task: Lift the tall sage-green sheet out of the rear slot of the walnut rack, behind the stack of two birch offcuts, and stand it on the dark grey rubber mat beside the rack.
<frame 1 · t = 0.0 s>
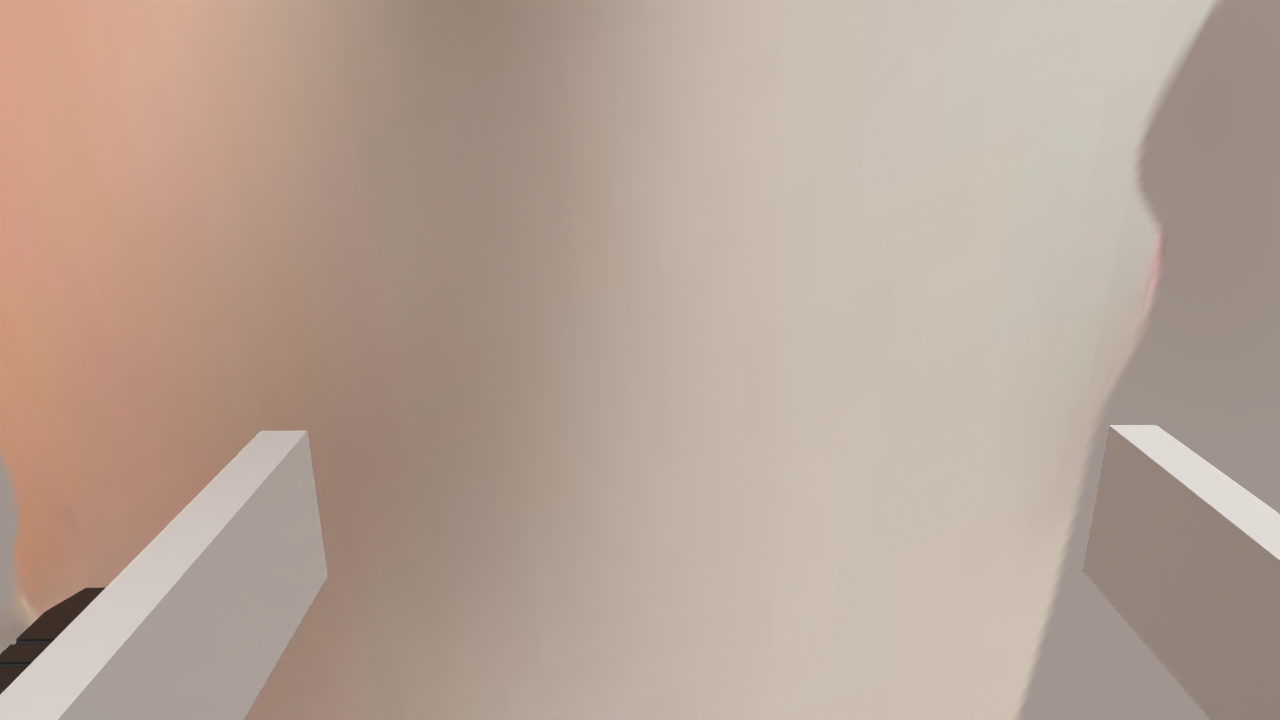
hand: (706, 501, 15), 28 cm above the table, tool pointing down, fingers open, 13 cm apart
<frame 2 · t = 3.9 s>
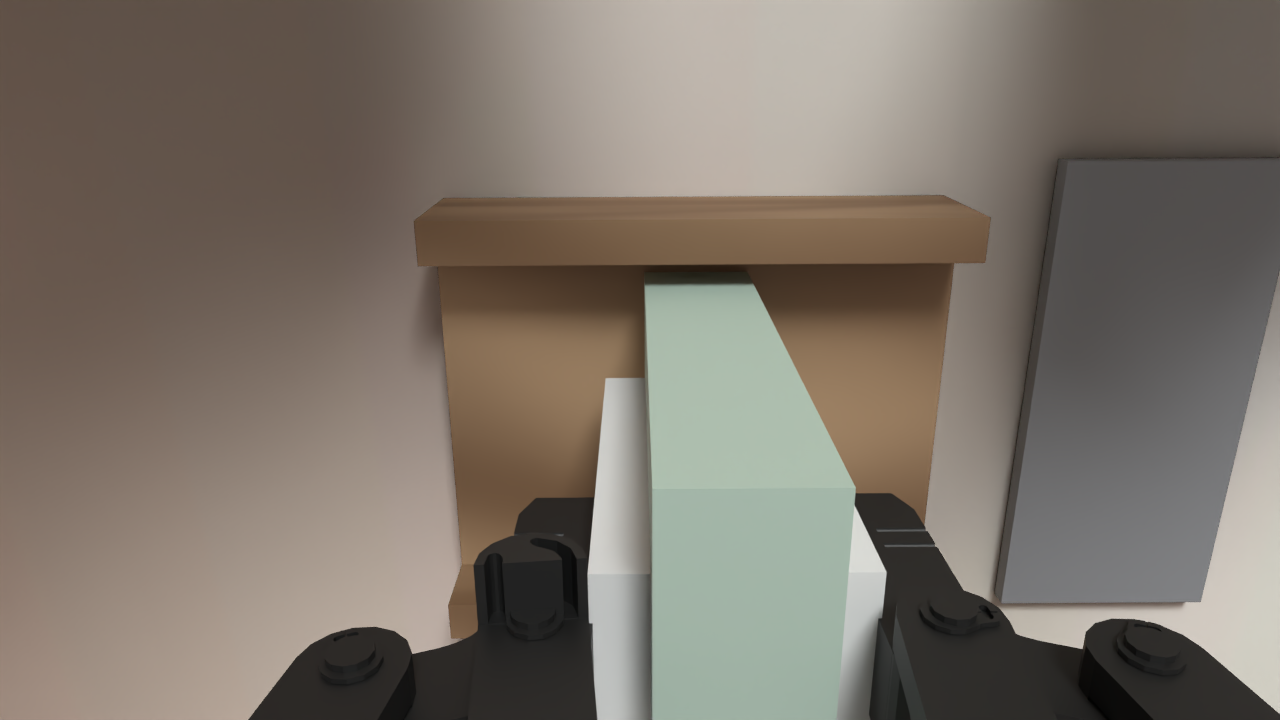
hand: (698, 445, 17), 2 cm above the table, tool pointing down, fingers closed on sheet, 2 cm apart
rack: (689, 488, 20), on the table
mat: (1130, 394, 19), on the table
sheet: (693, 414, 18), point 1 cm above the table, touching gripper, rack
when the fingers open (3 cm above the table, at t = 8.5 s): sheet stays where it is, resting on mat.
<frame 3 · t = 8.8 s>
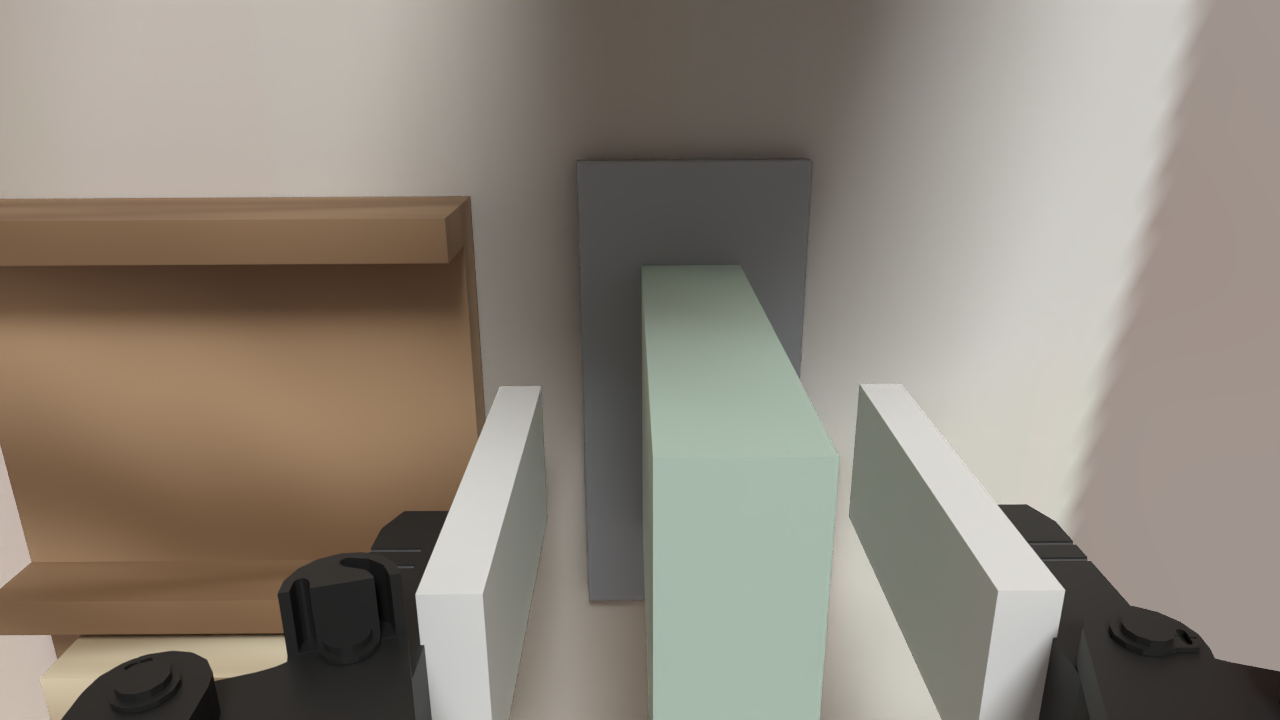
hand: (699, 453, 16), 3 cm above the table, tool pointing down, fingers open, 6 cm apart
rack: (268, 486, 20), on the table
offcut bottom: (275, 658, 20), point 1 cm above the table, touching offcut top, rack
mat: (689, 393, 19), on the table
sheet: (688, 402, 19), resting on mat
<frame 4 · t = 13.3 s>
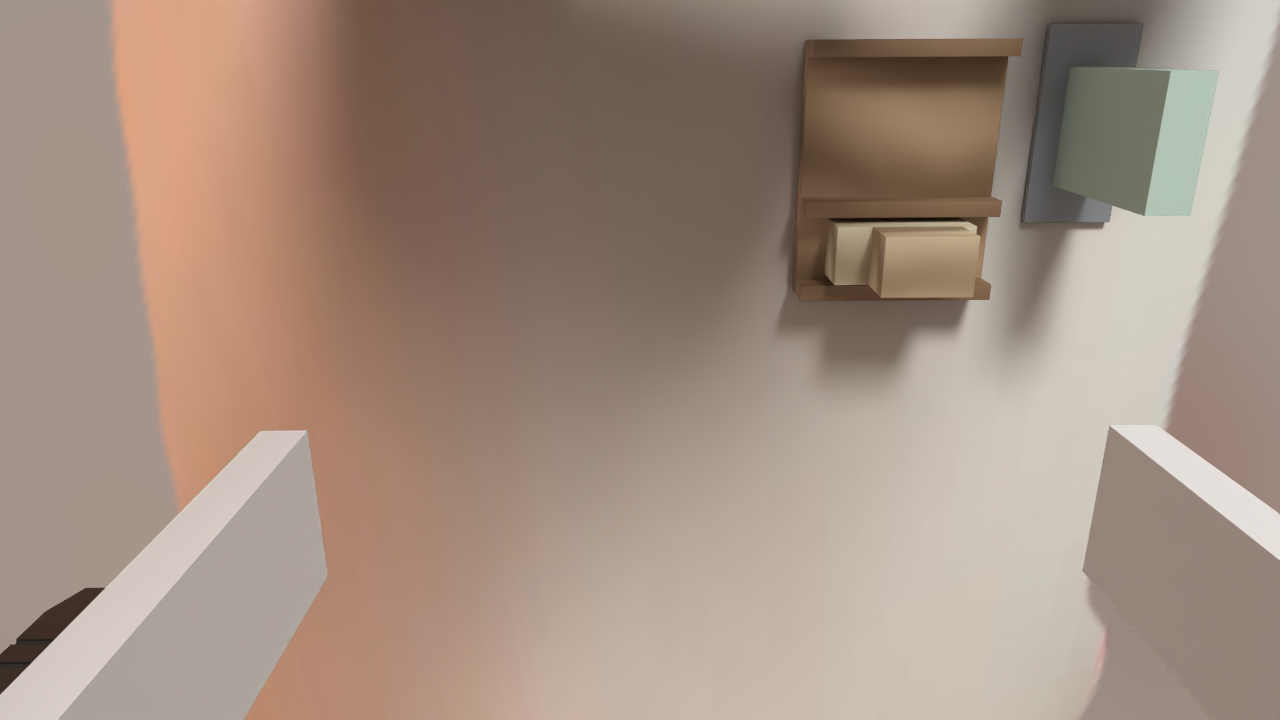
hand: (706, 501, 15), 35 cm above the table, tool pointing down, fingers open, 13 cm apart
offcut top: (914, 256, 45), point 3 cm above the table, touching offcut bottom
rack: (892, 169, 47), on the table
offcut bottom: (891, 245, 47), point 1 cm above the table, touching offcut top, rack
mat: (1077, 126, 46), on the table
sheet: (1080, 127, 46), resting on mat
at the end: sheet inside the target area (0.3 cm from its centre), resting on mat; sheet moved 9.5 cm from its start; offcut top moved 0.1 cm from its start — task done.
